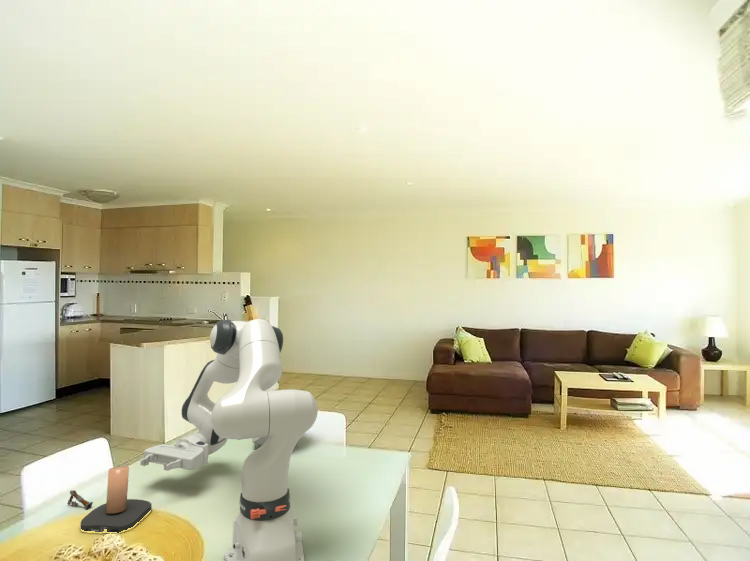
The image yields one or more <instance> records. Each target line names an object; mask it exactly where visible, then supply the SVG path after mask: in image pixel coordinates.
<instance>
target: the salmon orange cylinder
mask: <svg viewBox="0 0 750 561" xmlns="http://www.w3.org/2000/svg"><path fill="white" fill-rule="evenodd" d="M129 473H130V466H128V465H127V466H125V465H121V466H116V467H111V468H109V469H108V474H107V489H106V503H105V504H106V513H109V514H112V513H119V512H122V511H124V510H126V508H127V499H128V489H129Z"/></svg>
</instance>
